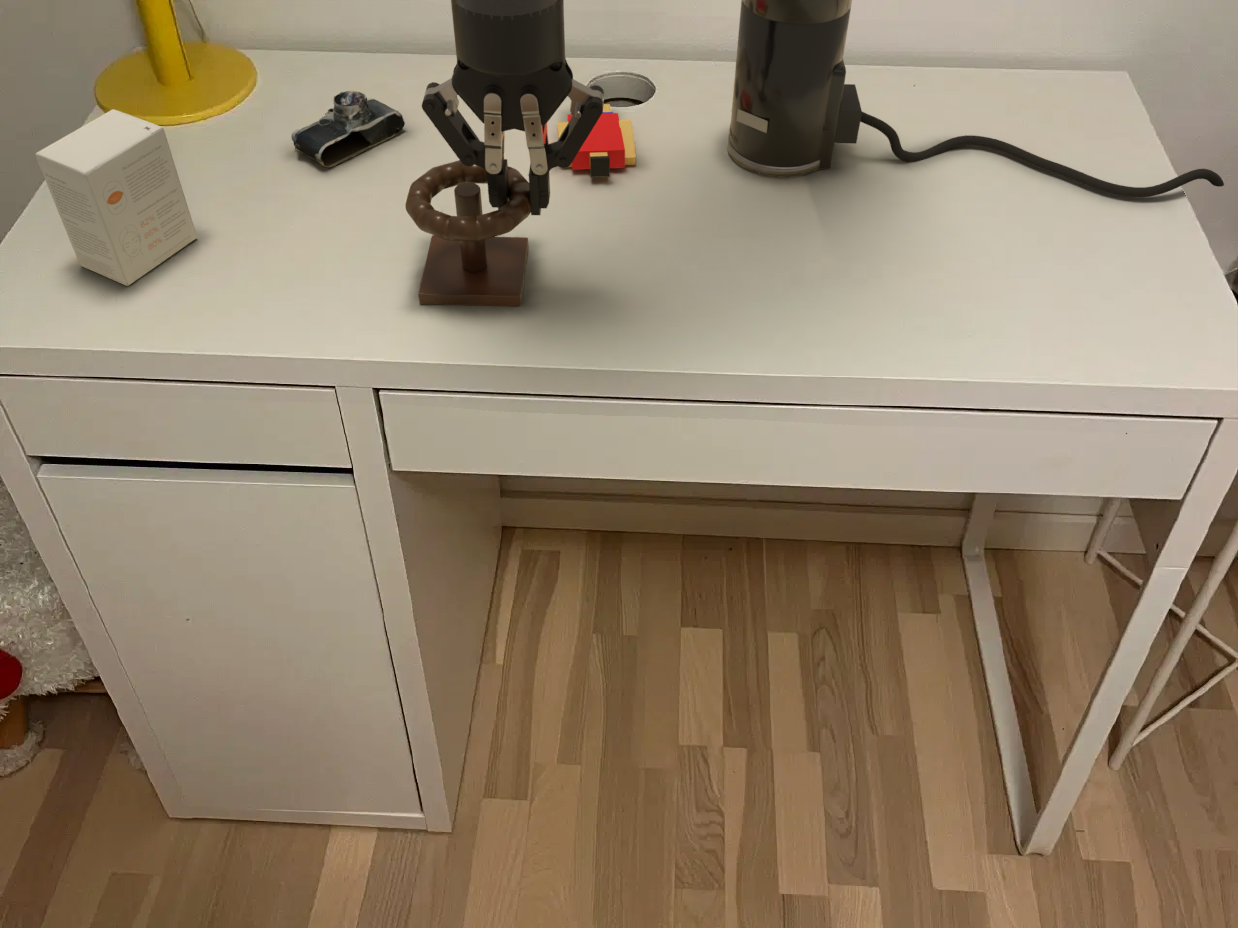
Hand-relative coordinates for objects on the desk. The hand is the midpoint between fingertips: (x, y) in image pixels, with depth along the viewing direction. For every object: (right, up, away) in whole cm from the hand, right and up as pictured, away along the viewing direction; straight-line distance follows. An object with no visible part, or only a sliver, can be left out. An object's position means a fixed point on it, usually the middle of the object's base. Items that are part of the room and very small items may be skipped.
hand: (520, 208), depth 89 cm
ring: (-4, +1, -1) cm, 4 cm away
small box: (-32, -2, +6) cm, 33 cm away
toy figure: (+5, +10, +19) cm, 22 cm away
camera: (-18, +10, +19) cm, 28 cm away
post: (-4, -4, +5) cm, 8 cm away
